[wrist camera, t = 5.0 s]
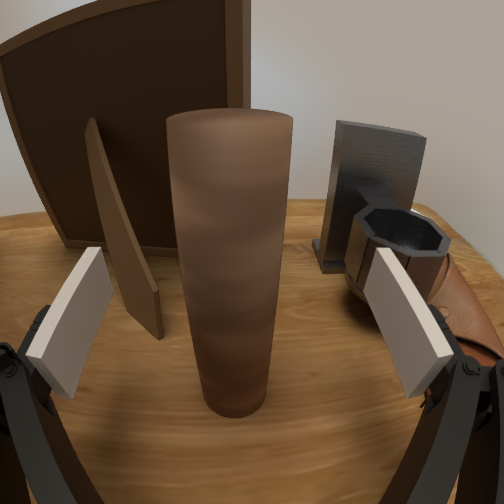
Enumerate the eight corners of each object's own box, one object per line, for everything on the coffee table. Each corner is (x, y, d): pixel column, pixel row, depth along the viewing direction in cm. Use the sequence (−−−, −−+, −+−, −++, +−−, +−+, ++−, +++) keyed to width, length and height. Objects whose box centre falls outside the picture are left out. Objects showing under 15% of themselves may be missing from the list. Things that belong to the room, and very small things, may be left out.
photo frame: (82, 228, 34) (56, 34, 20) (250, 240, 33) (257, -3, 19) (15, 306, 22) (-51, 49, 8) (228, 351, 21) (227, -70, 6)
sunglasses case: (377, 270, 29) (421, 224, 25) (414, 297, 31) (455, 258, 27) (429, 436, 14) (515, 381, 11) (465, 439, 16) (531, 395, 12)
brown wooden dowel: (190, 396, 17) (140, 122, 8) (226, 357, 20) (219, 106, 11) (243, 429, 16) (247, 132, 7) (277, 383, 18) (312, 116, 9)
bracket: (429, 333, 22) (496, 178, 14) (346, 344, 21) (400, 159, 13) (377, 245, 33) (402, 126, 25) (312, 245, 33) (328, 115, 25)
